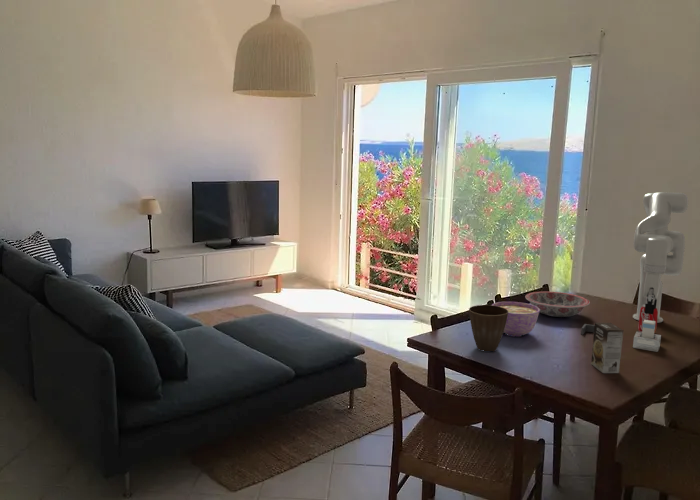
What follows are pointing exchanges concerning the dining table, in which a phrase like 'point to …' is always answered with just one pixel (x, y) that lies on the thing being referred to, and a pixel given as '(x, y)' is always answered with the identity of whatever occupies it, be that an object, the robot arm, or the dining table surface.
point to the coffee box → (607, 347)
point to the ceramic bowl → (557, 303)
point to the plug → (648, 329)
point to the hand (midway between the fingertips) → (650, 310)
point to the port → (646, 342)
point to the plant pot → (487, 325)
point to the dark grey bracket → (587, 328)
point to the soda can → (647, 317)
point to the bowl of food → (519, 317)
